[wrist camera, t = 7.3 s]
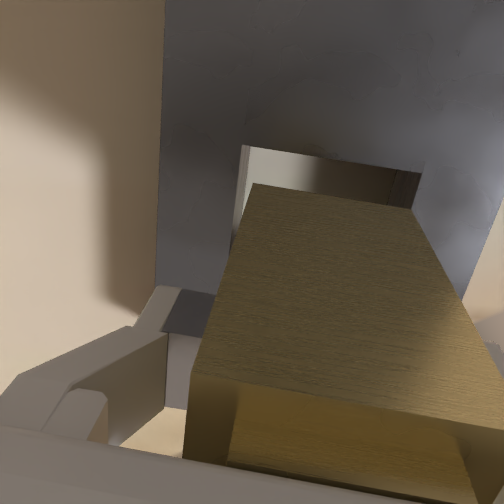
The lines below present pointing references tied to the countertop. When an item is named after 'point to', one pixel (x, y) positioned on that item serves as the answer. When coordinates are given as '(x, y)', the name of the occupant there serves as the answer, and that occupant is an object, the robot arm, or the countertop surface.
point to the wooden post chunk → (345, 358)
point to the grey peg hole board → (330, 115)
